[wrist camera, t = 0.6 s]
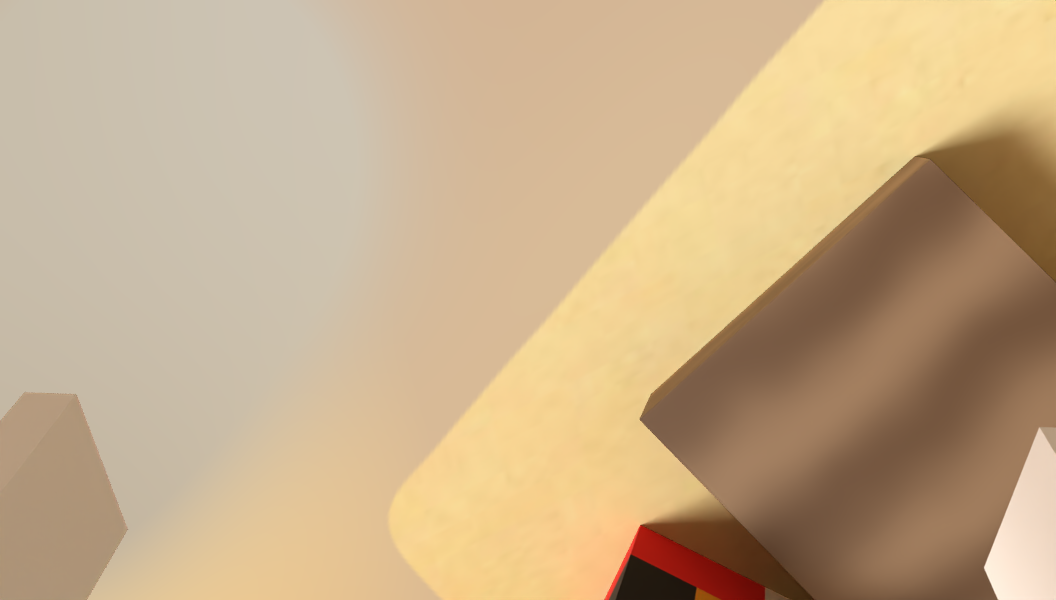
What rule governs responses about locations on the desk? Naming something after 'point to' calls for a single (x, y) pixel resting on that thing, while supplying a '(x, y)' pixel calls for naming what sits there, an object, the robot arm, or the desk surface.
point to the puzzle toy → (678, 574)
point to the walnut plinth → (877, 398)
